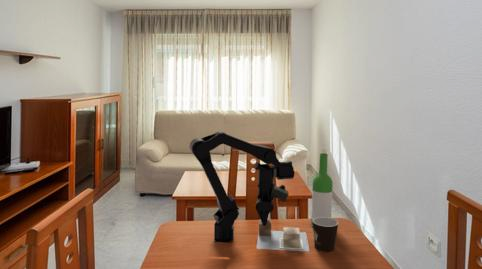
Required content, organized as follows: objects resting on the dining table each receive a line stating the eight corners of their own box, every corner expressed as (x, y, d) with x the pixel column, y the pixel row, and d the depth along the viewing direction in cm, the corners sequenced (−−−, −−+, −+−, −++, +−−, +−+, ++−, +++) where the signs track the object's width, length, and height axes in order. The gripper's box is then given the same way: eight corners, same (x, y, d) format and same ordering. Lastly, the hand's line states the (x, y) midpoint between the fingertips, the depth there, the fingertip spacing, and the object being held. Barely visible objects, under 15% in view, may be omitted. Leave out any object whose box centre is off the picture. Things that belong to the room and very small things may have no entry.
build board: (256, 250, 122) (256, 247, 122) (258, 231, 137) (258, 229, 137) (309, 253, 120) (309, 250, 120) (305, 233, 136) (305, 231, 136)
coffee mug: (337, 256, 118) (339, 227, 116) (311, 253, 119) (312, 225, 118) (335, 241, 129) (337, 215, 128) (311, 239, 131) (312, 213, 129)
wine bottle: (306, 226, 143) (309, 153, 139) (319, 222, 147) (322, 151, 143) (321, 233, 136) (324, 156, 132) (334, 228, 141) (338, 154, 137)
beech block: (283, 247, 123) (283, 233, 122) (283, 240, 128) (283, 227, 128) (299, 247, 122) (299, 234, 122) (298, 241, 128) (298, 227, 127)
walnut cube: (258, 235, 132) (258, 224, 132) (259, 230, 137) (259, 219, 136) (270, 236, 132) (271, 224, 131) (271, 231, 136) (271, 220, 136)
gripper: (288, 188, 121) (287, 231, 123) (287, 175, 140) (285, 213, 142) (256, 186, 122) (255, 230, 124) (258, 174, 141) (258, 211, 143)
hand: (264, 220), depth 133 cm, fingers open, 9 cm apart
